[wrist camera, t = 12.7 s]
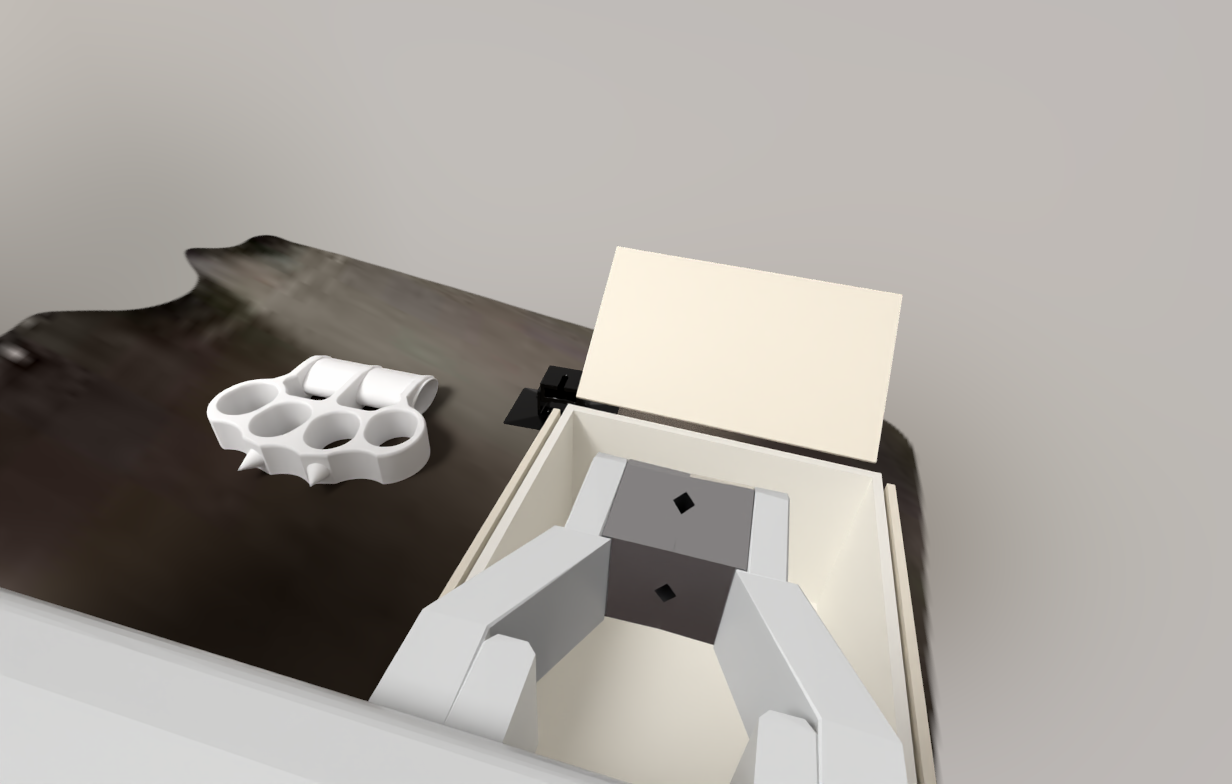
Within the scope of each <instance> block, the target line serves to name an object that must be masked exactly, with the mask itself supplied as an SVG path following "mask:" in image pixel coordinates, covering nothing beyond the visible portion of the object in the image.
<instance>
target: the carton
mask: <svg viewBox="0 0 1232 784" xmlns="http://www.w3.org/2000/svg"><path fill="white" fill-rule="evenodd" d="M598 452H601V453H605V454H609V455H613V456H617V457H621V458H625V459H633V460H637V461H641V462H645V463H649V464H653V465H657V466H661V467H665V468H669V469H673V470H677V471H681V472H686V473H691V474H696V475H701V476H705V477H710V478H715V479H719V480H724V481H729V482H734V483H738V484H743V485H748V486H753V488H754V487H758V488H763V489H768V490H773V491H778V492H783V493H787V494H788V496H789V498H790V514H789V558H788V582H790V583H794V584H798V585H799V586H800V588H801V589H802V591H803V592H804V594H805V596H806V597H807V599H808V600H809V602H810V603H811V605H812V606H813V608H814V609H815V611H816V612H817V614H818V615H819V617H820V618H821V620H822V622H823V623H824V625H825V626H826V628H827V629H828V631H829V632H830V634H831V635H832V637H833V638H834V640H835V641H836V643H837V645H838V646H839V648H840V649H841V651H842V652H843V654H844V655H845V657H846V658H847V660H848V661H849V663H850V664H851V666H852V668H853V669H854V671H855V672H856V674H857V675H858V677H859V678H860V680H861V681H862V683H863V684H864V686H865V687H866V689H867V691H868V692H869V694H870V695H871V697H872V698H873V700H874V701H875V703H876V704H877V706H878V707H879V709H880V710H881V712H882V713H883V715H884V717H885V718H886V720H887V721H888V723H889V724H890V726H891V727H892V729H893V730H894V732H895V733H896V735H897V736H898V738H899V740H900V741H901V743H902V744H903V751H904V760H905V768H906V776H907V784H937V783H936V776H935V769H934V761H933V754H932V747H931V740H930V733H929V725H928V718H927V711H926V704H925V697H924V689H923V682H922V675H921V668H920V661H919V653H918V646H917V639H916V632H915V625H914V617H913V610H912V603H911V596H910V589H909V581H908V574H907V567H906V560H905V553H904V545H903V538H902V531H901V524H900V517H899V509H898V502H897V495H896V488H895V485H893V484H888V483H887V485H886V487H885V489H884V492H883V483H882V474H881V473H877V472H872V471H868V470H863V469H859V468H855V467H850V466H846V465H841V464H837V463H832V462H828V461H823V460H819V459H814V458H810V457H805V456H801V455H796V454H792V453H787V452H783V451H778V450H774V449H769V448H765V447H760V446H756V445H751V444H747V443H742V442H738V441H733V440H729V439H725V438H720V437H716V436H711V435H707V434H702V433H698V432H693V431H689V430H684V429H680V428H675V427H671V426H666V425H662V424H657V423H653V422H648V421H644V420H639V419H635V418H630V417H626V416H621V415H617V414H612V413H608V412H603V411H599V410H594V409H590V408H586V407H581V406H577V405H572V404H568V405H567V407H566V408H565V410H564V412H563V414H562V415H561V417H560V409H556V408H554V409H553V411H552V412H551V414H550V415H549V417H548V419H547V420H546V422H545V424H544V425H543V427H542V429H541V430H540V432H539V434H538V435H537V437H536V439H535V440H534V442H533V443H532V445H531V447H530V448H529V450H528V452H527V453H526V455H525V457H524V458H523V460H522V462H521V463H520V465H519V467H518V468H517V470H516V471H515V473H514V475H513V476H512V478H511V480H510V481H509V483H508V485H507V486H506V488H505V490H504V491H503V493H502V495H501V496H500V498H499V500H498V501H497V503H496V504H495V506H494V508H493V509H492V511H491V513H490V514H489V516H488V518H487V519H486V521H485V523H484V524H483V526H482V528H481V529H480V531H479V532H478V534H477V536H476V537H475V539H474V541H473V542H472V544H471V546H470V547H469V549H468V551H467V552H466V554H465V556H464V557H463V559H462V560H461V562H460V564H459V565H458V567H457V569H456V570H455V572H454V574H453V575H452V577H451V579H450V580H449V582H448V584H447V585H446V587H445V588H444V590H443V592H442V593H441V595H440V597H439V598H441V597H443V596H444V595H446V594H447V593H449V592H450V591H452V590H454V589H455V588H457V587H458V586H460V585H462V584H463V583H465V582H466V581H468V580H469V579H471V578H473V577H474V576H476V575H477V574H479V573H480V572H482V571H484V570H485V569H487V568H488V567H490V566H492V565H493V564H495V563H496V562H498V561H499V560H501V559H503V558H504V557H506V556H507V555H509V554H510V553H512V552H514V551H515V550H517V549H518V548H520V547H522V546H523V545H525V544H526V543H528V542H529V541H531V540H533V539H534V538H536V537H537V536H539V535H541V534H542V533H544V532H545V531H547V530H548V529H550V528H552V527H553V526H555V525H556V526H561V527H565V524H566V522H567V520H568V517H569V515H570V513H571V510H572V508H573V506H574V503H575V501H576V498H577V496H578V494H579V491H580V489H581V487H582V484H583V482H584V479H585V477H586V475H587V472H588V470H589V468H590V465H591V463H592V461H593V458H594V457H595V456H596V455H597V453H598ZM439 598H438V599H439ZM659 626H660V625H659ZM713 647H714V645H711V644H708V643H705V642H701V641H698V640H694V639H691V638H688V637H684V636H681V635H677V634H674V633H671V632H667V631H664V630H660V629H657V628H653V627H648V626H644V625H640V624H636V623H631V622H627V621H623V620H619V619H615V618H610V617H606V616H604V620H603V621H602V622H601V623H600V624H599V625H598V626H597V627H596V628H595V629H593V630H592V631H591V632H590V633H589V634H588V635H587V636H586V637H585V638H584V639H583V640H582V641H581V642H580V643H578V644H577V645H576V646H575V647H574V648H573V649H572V650H571V651H570V652H569V653H568V654H567V655H566V656H565V657H563V658H562V659H561V660H560V661H559V662H558V663H557V664H556V665H555V666H554V667H553V668H552V669H551V670H550V671H548V672H547V673H546V674H545V675H544V676H543V677H542V678H541V679H540V680H539V681H538V682H537V683H536V686H537V716H538V746H537V749H536V752H535V754H538V755H542V756H545V757H548V758H551V759H555V760H558V761H561V762H564V763H567V764H571V765H574V766H577V767H580V768H583V769H587V770H590V771H593V772H596V773H600V774H603V775H606V776H609V777H612V778H616V779H619V780H622V781H625V782H628V783H632V784H730V782H731V780H732V777H733V775H734V773H735V771H736V768H737V766H738V764H739V762H740V759H741V757H742V755H743V753H744V750H745V748H746V746H747V743H748V741H749V737H748V735H747V732H746V729H745V727H744V724H743V722H742V719H741V717H740V714H739V712H738V709H737V707H736V704H735V702H734V699H733V697H732V694H731V692H730V689H729V686H728V684H727V681H726V679H725V676H724V674H723V671H722V669H721V666H720V664H719V661H718V659H717V656H716V654H715V651H714V648H713Z"/></svg>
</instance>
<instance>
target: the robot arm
mask: <svg viewBox="0 0 1232 784" xmlns="http://www.w3.org/2000/svg"><path fill="white" fill-rule="evenodd" d="M789 514H790V498H789V496H788V494H787V493H783V492H778V491H773V490H768V489H763V488H758V487H754V488H753V486H748V485H743V484H738V483H734V482H729V481H724V480H719V479H715V478H710V477H705V476H701V475H696V474H691V473H686V472H681V471H677V470H673V469H669V468H665V467H661V466H657V465H653V464H649V463H645V462H641V461H637V460H633V459H625V458H621V457H617V456H613V455H609V454H605V453H601V452H598V453H597V455H596V456H595V457H594V458H593V461H592V463H591V465H590V468H589V470H588V472H587V475H586V477H585V479H584V482H583V484H582V487H581V489H580V491H579V494H578V496H577V498H576V501H575V503H574V506H573V508H572V510H571V513H570V515H569V517H568V520H567V522H566V524H565V527H561V526H556V525H555V526H553V527H552V528H550V529H548V530H547V531H545V532H544V533H542V534H541V535H539V536H537V537H536V538H534V539H533V540H531V541H529V542H528V543H526V544H525V545H523V546H522V547H520V548H518V549H517V550H515V551H514V552H512V553H510V554H509V555H507V556H506V557H504V558H503V559H501V560H499V561H498V562H496V563H495V564H493V565H492V566H490V567H488V568H487V569H485V570H484V571H482V572H480V573H479V574H477V575H476V576H474V577H473V578H471V579H469V580H468V581H466V582H465V583H463V584H462V585H460V586H458V587H457V588H455V589H454V590H452V591H450V592H449V593H447V594H446V595H444V596H443V597H441V598H439V599H438V600H436V601H435V602H433V603H432V604H430V605H428V606H427V607H425V608H424V609H422V611H421V613H420V614H419V616H418V618H417V620H416V621H415V623H414V625H413V626H412V628H411V630H410V631H409V633H408V635H407V636H406V638H405V640H404V642H403V643H402V645H401V647H400V648H399V650H398V652H397V653H396V655H395V657H394V658H393V660H392V662H391V664H390V665H389V667H388V669H387V670H386V672H385V674H384V675H383V677H382V679H381V680H380V682H379V684H378V686H377V687H376V689H375V691H374V692H373V694H372V696H371V697H370V699H369V701H365V700H362V699H358V698H355V697H352V696H349V695H345V694H342V693H339V692H336V691H333V690H329V689H326V688H323V687H320V686H316V685H313V684H310V683H307V682H304V681H300V680H297V679H294V678H291V677H287V676H284V675H281V674H278V673H275V672H271V671H268V670H265V669H262V668H259V667H255V666H252V665H249V664H246V663H242V662H239V661H236V660H233V659H230V658H226V657H223V656H220V655H217V654H213V653H210V652H207V651H204V650H201V649H197V648H194V647H191V646H188V645H184V644H181V643H178V642H175V641H172V640H168V639H165V638H162V637H159V636H155V635H152V634H149V633H146V632H143V631H139V630H136V629H133V628H130V627H127V626H123V625H120V624H117V623H114V622H110V621H107V620H104V619H101V618H98V617H94V616H91V615H88V614H85V613H81V612H78V611H75V610H72V609H69V608H65V607H62V606H59V605H56V604H52V603H49V602H46V601H43V600H40V599H36V598H33V597H30V596H27V595H24V594H20V593H17V592H14V591H11V590H7V589H4V588H1V587H0V784H632V783H628V782H625V781H622V780H619V779H616V778H612V777H609V776H606V775H603V774H600V773H596V772H593V771H590V770H587V769H583V768H580V767H577V766H574V765H571V764H567V763H564V762H561V761H558V760H555V759H551V758H548V757H545V756H542V755H538V754H535V752H536V749H537V746H538V716H537V686H536V683H537V682H538V681H539V680H540V679H541V678H542V677H543V676H544V675H545V674H546V673H547V672H548V671H550V670H551V669H552V668H553V667H554V666H555V665H556V664H557V663H558V662H559V661H560V660H561V659H562V658H563V657H565V656H566V655H567V654H568V653H569V652H570V651H571V650H572V649H573V648H574V647H575V646H576V645H577V644H578V643H580V642H581V641H582V640H583V639H584V638H585V637H586V636H587V635H588V634H589V633H590V632H591V631H592V630H593V629H595V628H596V627H597V626H598V625H599V624H600V623H601V622H602V621H603V620H604V616H606V617H610V618H615V619H619V620H623V621H627V622H631V623H636V624H640V625H644V626H648V627H653V628H657V629H660V630H664V631H667V632H671V633H674V634H677V635H681V636H684V637H688V638H691V639H694V640H698V641H701V642H705V643H708V644H711V645H714V647H713V648H714V651H715V654H716V656H717V659H718V661H719V664H720V666H721V669H722V671H723V674H724V676H725V679H726V681H727V684H728V686H729V689H730V692H731V694H732V697H733V699H734V702H735V704H736V707H737V709H738V712H739V714H740V717H741V719H742V722H743V724H744V727H745V729H746V732H747V735H748V737H749V741H748V743H747V746H746V748H745V750H744V753H743V755H742V757H741V759H740V762H739V764H738V766H737V768H736V771H735V773H734V775H733V777H732V780H731V782H730V784H907V776H906V768H905V760H904V751H903V744H902V743H901V741H900V740H899V738H898V736H897V735H896V733H895V732H894V730H893V729H892V727H891V726H890V724H889V723H888V721H887V720H886V718H885V717H884V715H883V713H882V712H881V710H880V709H879V707H878V706H877V704H876V703H875V701H874V700H873V698H872V697H871V695H870V694H869V692H868V691H867V689H866V687H865V686H864V684H863V683H862V681H861V680H860V678H859V677H858V675H857V674H856V672H855V671H854V669H853V668H852V666H851V664H850V663H849V661H848V660H847V658H846V657H845V655H844V654H843V652H842V651H841V649H840V648H839V646H838V645H837V643H836V641H835V640H834V638H833V637H832V635H831V634H830V632H829V631H828V629H827V628H826V626H825V625H824V623H823V622H822V620H821V618H820V617H819V615H818V614H817V612H816V611H815V609H814V608H813V606H812V605H811V603H810V602H809V600H808V599H807V597H806V596H805V594H804V592H803V591H802V589H801V588H800V586H799V585H798V584H794V583H790V582H788V558H789ZM659 625H660V626H659Z"/></svg>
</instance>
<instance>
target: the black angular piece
mask: <svg viewBox="0 0 1232 784" xmlns="http://www.w3.org/2000/svg"><path fill="white" fill-rule="evenodd" d="M582 373H583V371H580V370H574V369H568V368H562V367H556V366H549V368H548V370H547V372H546V373H545V375H544V377H543V379H542V381H541V383H540V387H539V389H538V390H535V389H529V388H524V389H523V390H522V392H521V394H520V395H519V397H518V399H517V400H516V402H515V404H514V405H513V407H512V409H511V411H510V412H509V414H508V416H507V417H506V419H505V421H504V422H503V423H504V424H508V425H514V426H520V427H525V428H531V429H537V430H541V429H542V427H543V425H544V424H545V422H546V420H547V419H548V417H549V415H550V414H551V412H552V411H553V409H554V408H556V409H560V417H561V415H562V414H563V412H564V410H565V408H566V407H567V405H568V404H572V405H577V406H581V407H586V408H590V409H594V410H599V411H603V412H608V413H612V414H617V413H618V410H619V407H616V406H612V405H607V404H603V403H598V402H594V401H589V400H584V399H580V398H577V397H576V394H577V391H578V387H579V384H580V380H581V376H582Z"/></svg>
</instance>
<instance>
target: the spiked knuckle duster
mask: <svg viewBox="0 0 1232 784" xmlns="http://www.w3.org/2000/svg"><path fill="white" fill-rule="evenodd" d="M437 390H438V380H437V379H436V378H434V376H430V375H417V374H412V373H407V372H402V371H396V370H391V369H386V368H382V366H378V365H365V364H360V363H355V362H350V361H344V360H339V359H334V358H331V357H330V356H313V357H311V358H309V359H307V360H306V361H304V362H303V363H301V364H300V365H299V366H298V367H297V368H295V369H294V370H293V371H292V372H291V373H289V374H287V375H284V376H281V377H277V378H274V379H258V380H251V381H247V382H243V383H240V384H237V385H234V386H232V387H230V388H228V389H226V390H224V391H222V392H221V393H219V394H218V395H217V396H216V397H215V398H214V399H213V400H212V401H211V402H210V404H209V406H208V409H207V416H208V419H209V421H210V423H211V426H212V428H213V430H214V432H215V435H216V437H217V439H218V441H219V444H220V445H221V447H222V448H223V449H233V450H239V451H242V452H244V453H246V454H247V456H246V457H245V459H244V461H243V463H242V464H241V466H240V468H239V470H245V469H251V468H259V469H261V470H263V471H265V472H266V473H268V474H270V475H273V474H292V475H296V476H299V477H301V478H303V479H305V480H306V481H307V482H308V483H309V484H310V487H311V486H313V485H315V484H336V483H339V482H342V481H346V480H351V479H371V480H375V481H378V482H380V483H382V484H390V483H395V482H399V481H402V480H404V479H407V478H409V477H411V476H412V475H414V474H416V473H417V472H418V471H420V470H421V469H422V468H423V467H424V466H425V464H426V463H427V461H428V459H429V457H430V445H429V439H428V433H427V427H426V422H425V419H424V417H423V416H422V414H423V413H424V412H425V411H426V410H427V409H428V407H429V406H430V405H431V403H432V402H433V400H434V398H435V395H436V393H437ZM313 395H314V396H319V397H324V398H327V399H324V400H312V399H310V398H311V397H312V396H313ZM364 406H369V407H374V408H379V409H378V410H375V411H366V410H361V409H362V408H363V407H364ZM289 431H291V432H289ZM287 432H288V433H287ZM284 433H286V434H284ZM282 434H283V435H282ZM397 437H410V439H409V440H407V441H406V442H404V443H402V444H399V445H396V446H391V447H379V446H380V445H381V444H382V443H384V442H385V441H387V440H390V439H392V438H397ZM342 439H352V440H351V441H349V442H348V443H346V444H344V445H342V446H339V447H336V448H332V449H323V448H324V447H325V446H327V445H328V444H330V443H332V442H335V441H338V440H342ZM239 470H238V471H239Z"/></svg>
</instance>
